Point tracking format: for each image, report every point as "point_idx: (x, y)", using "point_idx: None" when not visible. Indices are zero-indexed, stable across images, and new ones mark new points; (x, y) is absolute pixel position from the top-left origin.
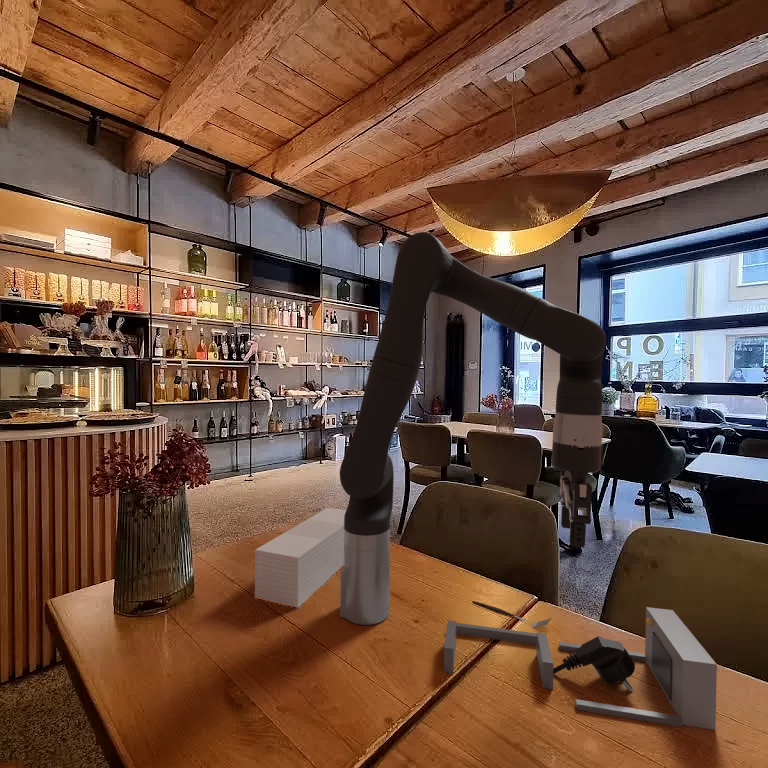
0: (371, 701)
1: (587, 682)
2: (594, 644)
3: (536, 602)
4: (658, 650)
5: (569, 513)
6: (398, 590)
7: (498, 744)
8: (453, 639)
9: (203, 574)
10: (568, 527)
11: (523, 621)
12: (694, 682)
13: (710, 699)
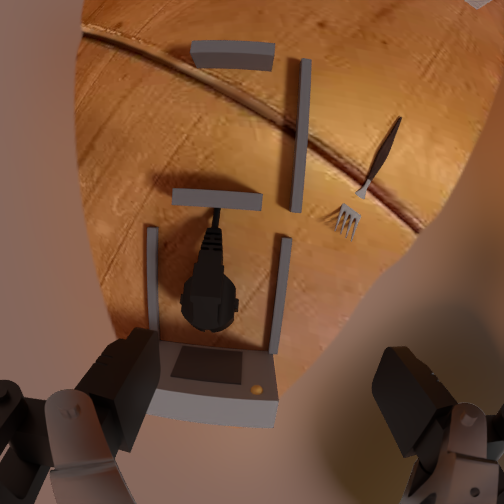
0: (143, 4)
1: None
2: (205, 285)
3: (414, 232)
4: (216, 372)
5: (405, 416)
6: (399, 18)
7: (91, 128)
8: (215, 51)
9: None
10: (379, 370)
11: (357, 193)
12: None
13: None
